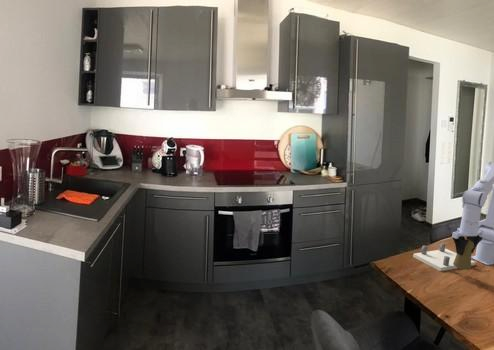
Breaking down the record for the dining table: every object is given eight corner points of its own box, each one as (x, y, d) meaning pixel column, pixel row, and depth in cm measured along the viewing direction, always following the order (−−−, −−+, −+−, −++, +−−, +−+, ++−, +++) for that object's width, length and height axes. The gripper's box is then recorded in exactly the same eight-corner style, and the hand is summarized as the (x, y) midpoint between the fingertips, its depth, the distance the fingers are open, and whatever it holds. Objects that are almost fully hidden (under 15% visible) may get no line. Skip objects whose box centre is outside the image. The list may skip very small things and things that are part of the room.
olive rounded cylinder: (474, 270, 128) (479, 243, 126) (457, 268, 129) (462, 242, 127) (466, 263, 134) (471, 238, 132) (450, 262, 135) (455, 236, 133)
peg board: (445, 251, 155) (447, 241, 154) (474, 265, 142) (476, 254, 141) (413, 256, 148) (414, 246, 147) (440, 271, 135) (442, 259, 134)
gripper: (473, 215, 134) (467, 247, 137) (447, 218, 129) (442, 251, 132) (491, 221, 127) (484, 254, 130) (464, 225, 122) (458, 258, 125)
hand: (464, 253), depth 130 cm, fingers closed on olive rounded cylinder, 5 cm apart
